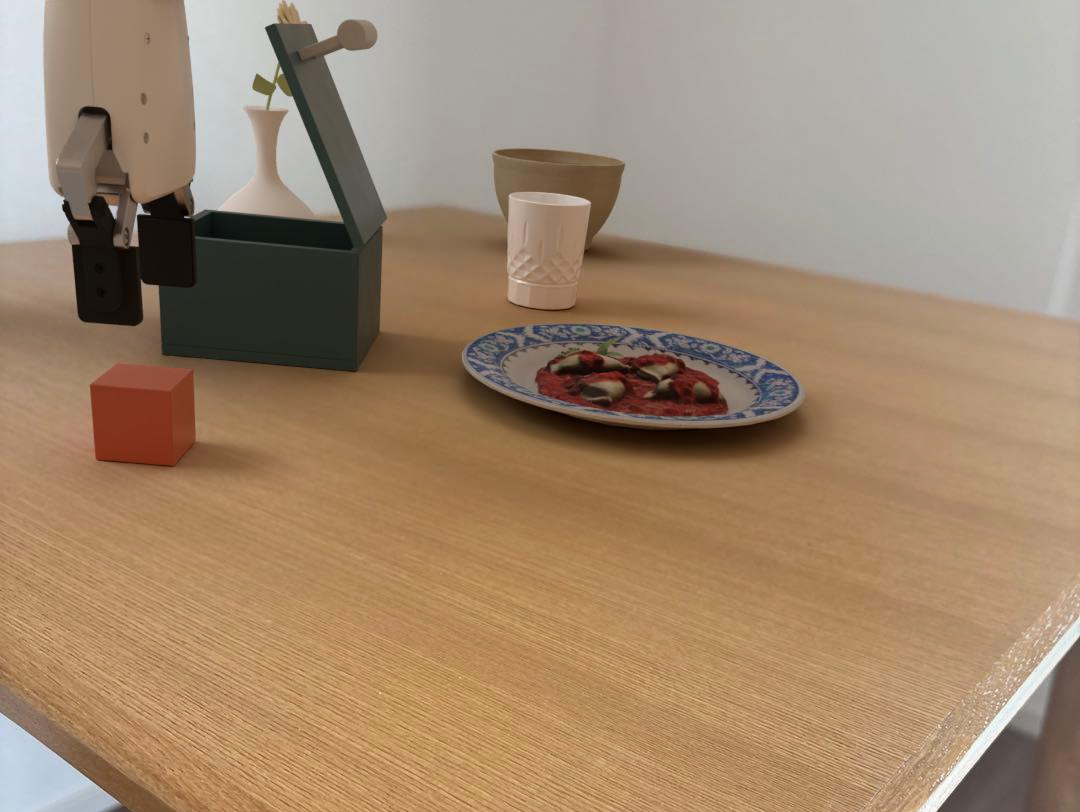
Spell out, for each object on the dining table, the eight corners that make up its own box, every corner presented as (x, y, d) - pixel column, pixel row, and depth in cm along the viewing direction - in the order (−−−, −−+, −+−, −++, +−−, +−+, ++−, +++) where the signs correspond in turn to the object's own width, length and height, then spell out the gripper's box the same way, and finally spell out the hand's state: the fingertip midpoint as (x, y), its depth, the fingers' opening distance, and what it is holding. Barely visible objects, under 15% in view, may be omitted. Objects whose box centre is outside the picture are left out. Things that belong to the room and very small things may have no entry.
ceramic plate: (857, 459, 77) (866, 418, 76) (481, 449, 72) (484, 404, 71) (736, 355, 100) (742, 322, 99) (445, 342, 95) (447, 306, 94)
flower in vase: (266, 246, 125) (263, -3, 115) (195, 229, 131) (186, -11, 120) (346, 235, 135) (350, 6, 125) (277, 220, 141) (276, -1, 130)
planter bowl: (553, 231, 152) (561, 146, 147) (641, 255, 141) (652, 164, 137) (460, 237, 141) (465, 146, 137) (547, 263, 131) (556, 165, 126)
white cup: (565, 316, 108) (575, 208, 103) (489, 303, 110) (496, 196, 106) (590, 301, 114) (601, 199, 110) (518, 289, 117) (526, 189, 112)
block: (95, 459, 65) (89, 384, 63) (122, 434, 69) (117, 362, 67) (173, 466, 65) (170, 391, 63) (196, 440, 69) (193, 369, 67)
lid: (264, 27, 75) (344, -5, 74) (301, 27, 87) (371, -1, 86) (354, 249, 81) (429, 222, 80) (378, 221, 93) (444, 197, 92)
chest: (161, 354, 85) (155, 234, 81) (208, 315, 96) (204, 209, 92) (356, 371, 85) (359, 253, 81) (379, 330, 96) (382, 225, 93)
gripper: (106, -37, 64) (127, 268, 71) (-40, -61, 48) (6, 334, 55) (239, -25, 64) (247, 278, 71) (138, -46, 48) (161, 347, 55)
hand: (142, 302), depth 63 cm, fingers open, 9 cm apart
